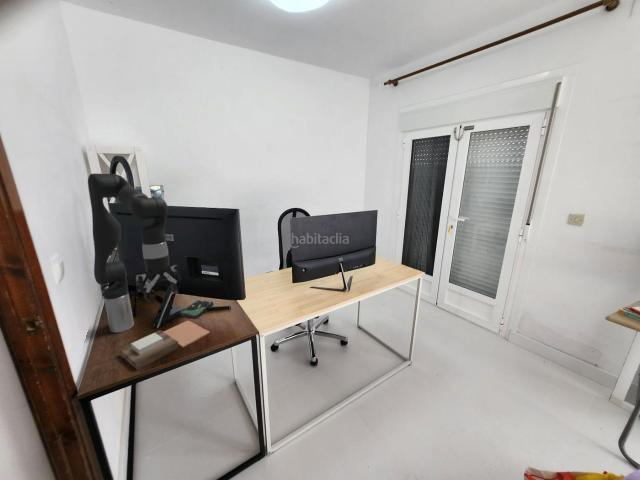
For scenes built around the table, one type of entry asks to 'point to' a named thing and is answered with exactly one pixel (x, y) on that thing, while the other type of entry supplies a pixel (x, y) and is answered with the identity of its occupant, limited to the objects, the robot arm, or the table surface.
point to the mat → (186, 333)
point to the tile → (147, 343)
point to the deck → (149, 352)
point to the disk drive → (196, 309)
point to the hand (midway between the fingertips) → (162, 296)
